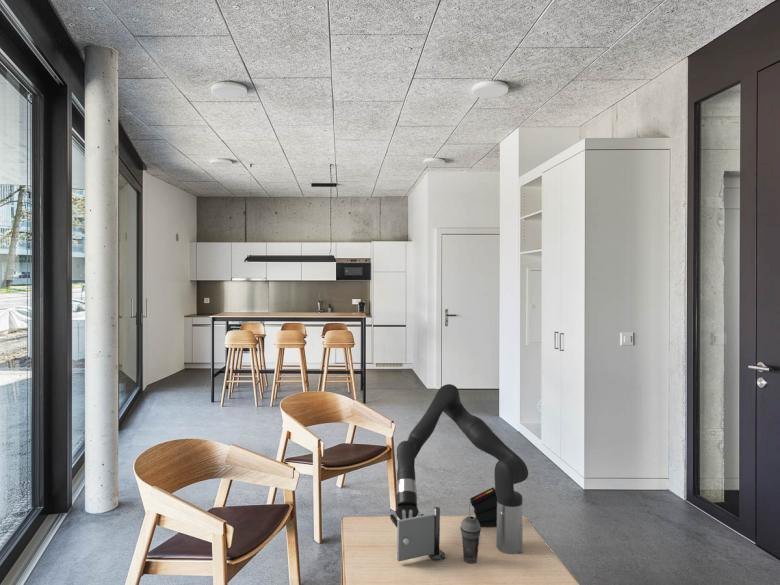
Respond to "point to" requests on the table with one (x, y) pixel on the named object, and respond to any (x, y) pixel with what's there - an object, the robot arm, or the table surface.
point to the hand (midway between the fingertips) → (407, 542)
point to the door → (415, 537)
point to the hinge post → (437, 537)
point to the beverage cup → (470, 538)
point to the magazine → (485, 508)
